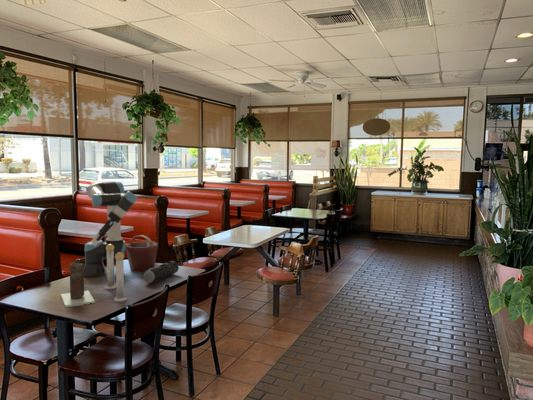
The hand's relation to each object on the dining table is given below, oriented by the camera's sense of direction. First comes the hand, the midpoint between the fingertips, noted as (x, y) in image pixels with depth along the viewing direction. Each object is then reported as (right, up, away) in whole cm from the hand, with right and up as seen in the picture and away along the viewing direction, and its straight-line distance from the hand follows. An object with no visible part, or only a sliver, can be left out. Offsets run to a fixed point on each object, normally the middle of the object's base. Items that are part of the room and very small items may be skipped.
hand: (93, 243), depth 247 cm
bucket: (+11, -26, +63) cm, 69 cm away
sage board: (-7, -32, -5) cm, 33 cm away
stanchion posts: (+11, -31, +6) cm, 33 cm away
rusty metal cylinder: (-7, -31, -5) cm, 32 cm away
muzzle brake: (+31, -29, +37) cm, 56 cm away
